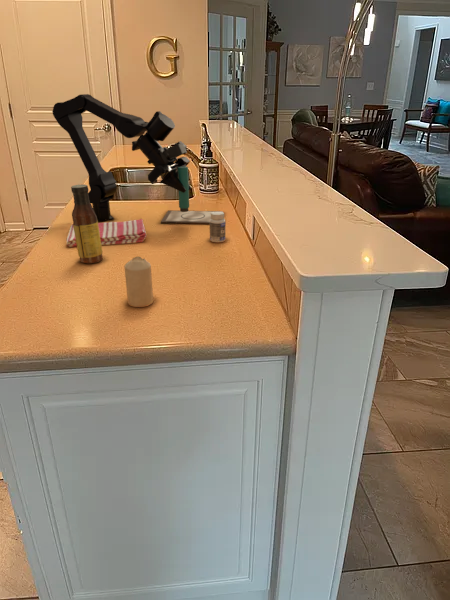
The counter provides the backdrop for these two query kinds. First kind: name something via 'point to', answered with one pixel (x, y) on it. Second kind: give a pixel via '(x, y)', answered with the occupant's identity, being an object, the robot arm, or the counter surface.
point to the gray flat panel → (187, 217)
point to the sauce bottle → (85, 226)
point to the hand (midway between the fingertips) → (187, 190)
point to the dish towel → (115, 233)
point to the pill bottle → (217, 227)
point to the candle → (139, 282)
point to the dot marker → (185, 196)
